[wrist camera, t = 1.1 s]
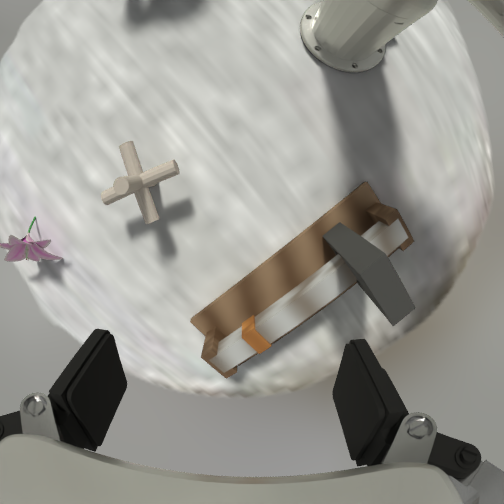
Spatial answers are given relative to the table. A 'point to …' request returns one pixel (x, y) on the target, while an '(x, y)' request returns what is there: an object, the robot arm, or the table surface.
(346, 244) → the dark grey tapered slab
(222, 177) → the table surface
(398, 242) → the pipe stand
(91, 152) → the table surface
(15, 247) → the lily
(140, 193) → the pipe connector
